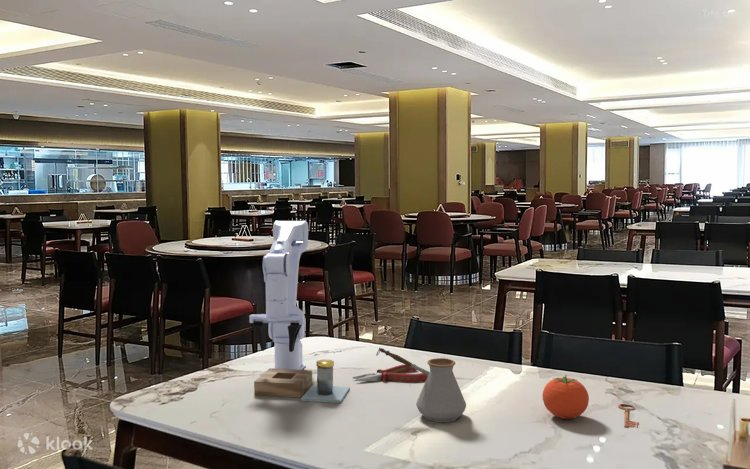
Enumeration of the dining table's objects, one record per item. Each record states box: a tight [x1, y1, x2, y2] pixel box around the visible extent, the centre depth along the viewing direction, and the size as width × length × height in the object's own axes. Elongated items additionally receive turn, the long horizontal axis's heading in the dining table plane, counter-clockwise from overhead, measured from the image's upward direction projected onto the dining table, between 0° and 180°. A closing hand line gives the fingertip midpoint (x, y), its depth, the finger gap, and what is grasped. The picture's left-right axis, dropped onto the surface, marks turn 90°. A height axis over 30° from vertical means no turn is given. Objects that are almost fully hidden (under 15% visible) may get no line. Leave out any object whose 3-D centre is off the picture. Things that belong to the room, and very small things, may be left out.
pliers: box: [352, 363, 428, 383], centre depth 182 cm, size 12×20×3 cm, turn 108°
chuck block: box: [253, 368, 313, 398], centre depth 172 cm, size 12×12×4 cm
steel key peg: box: [315, 359, 335, 396], centre depth 167 cm, size 4×4×8 cm
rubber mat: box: [300, 384, 351, 404], centre depth 168 cm, size 11×10×1 cm
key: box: [618, 403, 640, 429], centre depth 152 cm, size 6×1×15 cm
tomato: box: [541, 374, 590, 420], centre depth 151 cm, size 10×10×10 cm
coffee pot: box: [375, 347, 467, 423], centre depth 153 cm, size 21×12×15 cm, turn 72°
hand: (277, 350), depth 173 cm, fingers open, 7 cm apart
